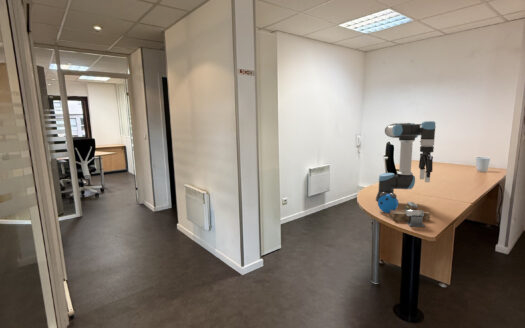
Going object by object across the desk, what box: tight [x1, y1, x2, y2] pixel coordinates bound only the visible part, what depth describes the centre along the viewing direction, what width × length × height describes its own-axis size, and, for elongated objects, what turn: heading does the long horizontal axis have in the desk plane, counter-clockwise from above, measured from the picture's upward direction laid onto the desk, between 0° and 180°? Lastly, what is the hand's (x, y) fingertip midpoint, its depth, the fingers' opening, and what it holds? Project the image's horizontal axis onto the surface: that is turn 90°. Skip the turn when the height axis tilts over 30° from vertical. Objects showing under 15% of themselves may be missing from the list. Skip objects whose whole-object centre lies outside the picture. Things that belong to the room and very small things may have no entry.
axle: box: [405, 209, 425, 217], centre depth 183 cm, size 10×4×4 cm, turn 81°
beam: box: [389, 201, 431, 222], centre depth 193 cm, size 24×8×11 cm, turn 81°
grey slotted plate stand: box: [405, 216, 426, 228], centre depth 183 cm, size 8×9×6 cm
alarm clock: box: [377, 192, 399, 214], centre depth 208 cm, size 13×6×15 cm, turn 49°
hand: (424, 180), depth 181 cm, fingers open, 8 cm apart
